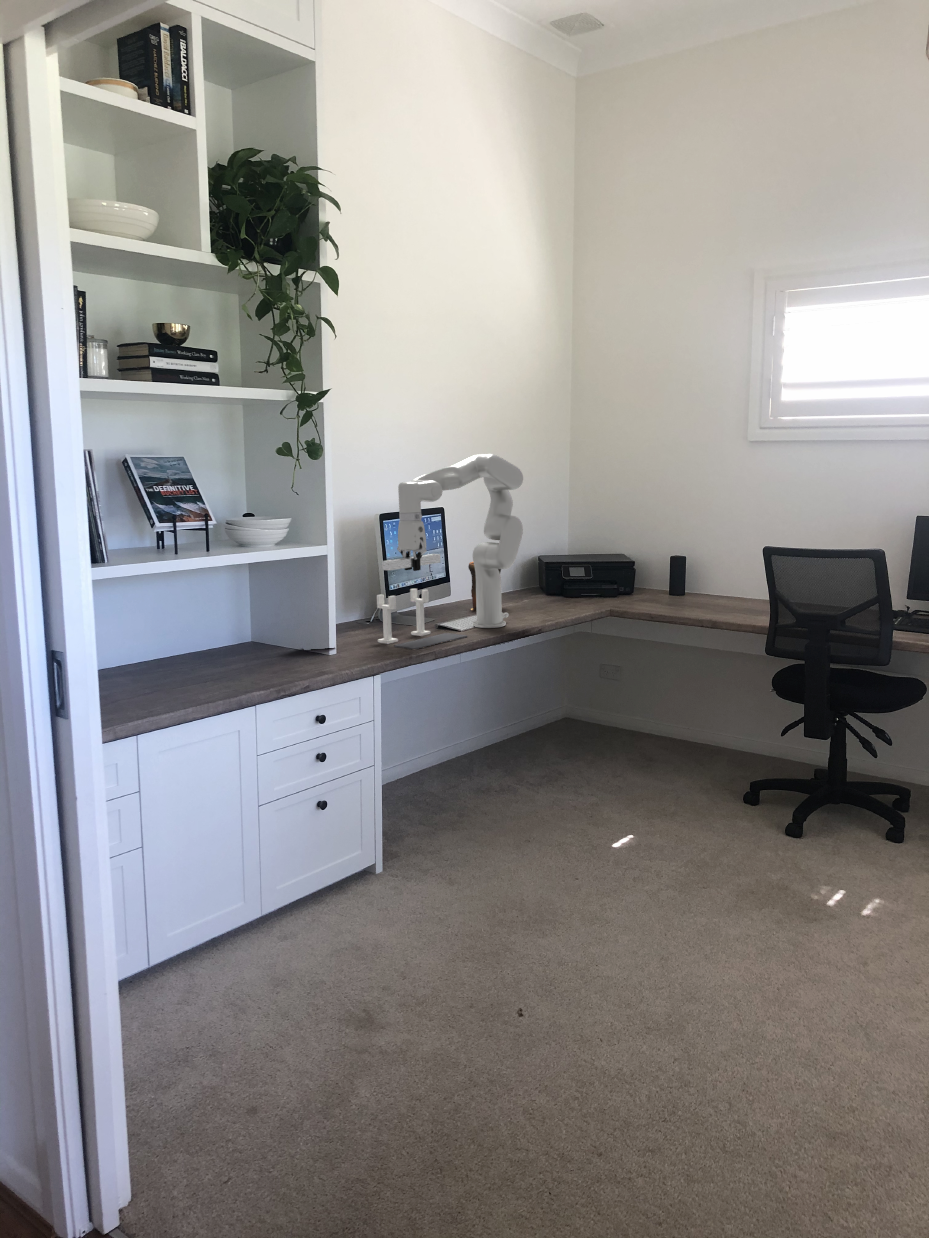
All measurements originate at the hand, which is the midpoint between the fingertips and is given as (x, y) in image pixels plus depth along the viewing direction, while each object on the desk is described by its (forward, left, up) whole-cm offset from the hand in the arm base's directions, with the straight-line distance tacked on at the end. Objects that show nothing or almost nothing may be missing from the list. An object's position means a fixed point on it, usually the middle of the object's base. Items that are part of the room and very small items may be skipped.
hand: (412, 569), depth 333 cm
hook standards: (0, -5, -25) cm, 25 cm away
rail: (0, 0, +1) cm, 1 cm away
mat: (0, +8, -25) cm, 26 cm away
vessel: (-65, -20, -25) cm, 72 cm away
